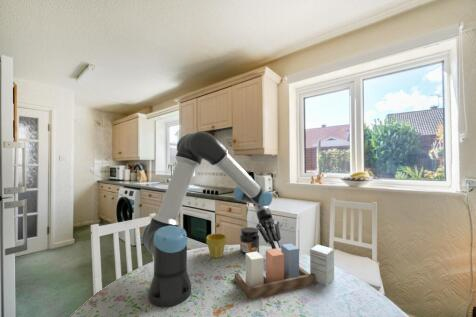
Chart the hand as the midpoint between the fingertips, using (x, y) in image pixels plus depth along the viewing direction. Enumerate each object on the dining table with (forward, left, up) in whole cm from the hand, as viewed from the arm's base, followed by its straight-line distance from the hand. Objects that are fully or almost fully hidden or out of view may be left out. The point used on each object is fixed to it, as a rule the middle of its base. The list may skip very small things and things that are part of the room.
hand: (279, 255), depth 102 cm
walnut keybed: (-9, -11, -5) cm, 15 cm away
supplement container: (-7, +19, -5) cm, 21 cm away
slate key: (0, -9, -4) cm, 10 cm away
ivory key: (-18, -12, -4) cm, 22 cm away
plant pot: (-25, +21, -5) cm, 33 cm away
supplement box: (+11, -16, -5) cm, 20 cm away
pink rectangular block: (-9, -12, -4) cm, 15 cm away
